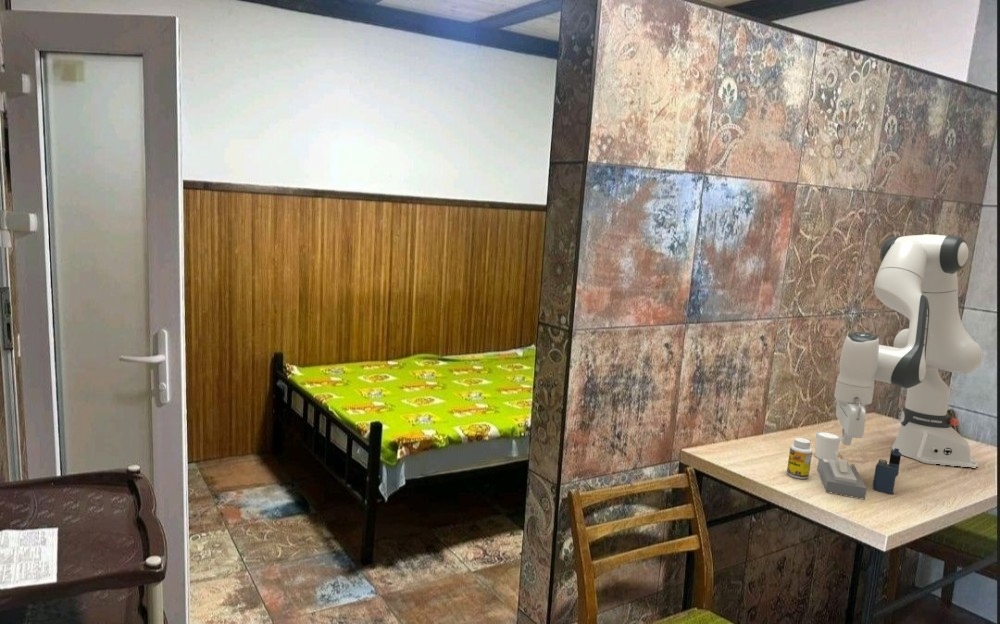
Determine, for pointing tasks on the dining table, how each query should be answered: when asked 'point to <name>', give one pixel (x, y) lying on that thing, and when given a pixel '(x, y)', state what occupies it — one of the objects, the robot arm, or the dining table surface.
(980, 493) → the dining table surface
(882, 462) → the vaping device
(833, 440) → the white cylinder
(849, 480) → the panel
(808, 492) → the dining table surface
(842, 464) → the double breaker paddle
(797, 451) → the supplement bottle
